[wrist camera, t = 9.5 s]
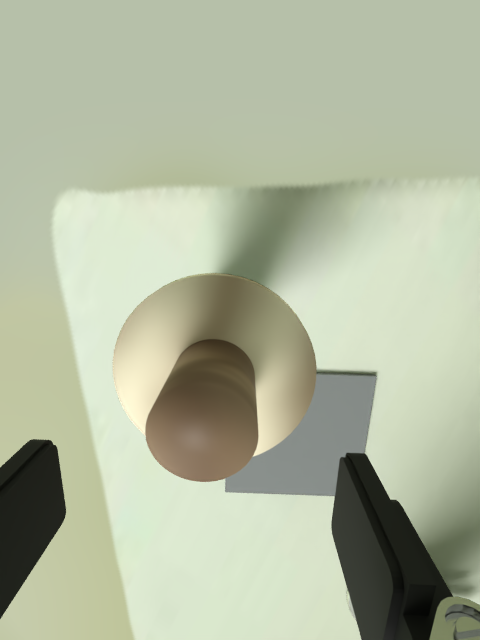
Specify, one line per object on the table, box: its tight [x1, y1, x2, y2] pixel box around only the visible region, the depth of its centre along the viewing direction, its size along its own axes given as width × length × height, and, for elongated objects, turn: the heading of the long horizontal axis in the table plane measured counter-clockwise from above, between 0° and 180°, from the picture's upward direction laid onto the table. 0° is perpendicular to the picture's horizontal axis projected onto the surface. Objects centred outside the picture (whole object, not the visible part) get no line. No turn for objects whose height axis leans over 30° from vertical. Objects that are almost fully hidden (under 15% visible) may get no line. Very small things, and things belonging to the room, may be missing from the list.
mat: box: [225, 373, 377, 496], centre depth 36 cm, size 16×16×1 cm
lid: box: [113, 273, 316, 482], centre depth 15 cm, size 11×11×6 cm
